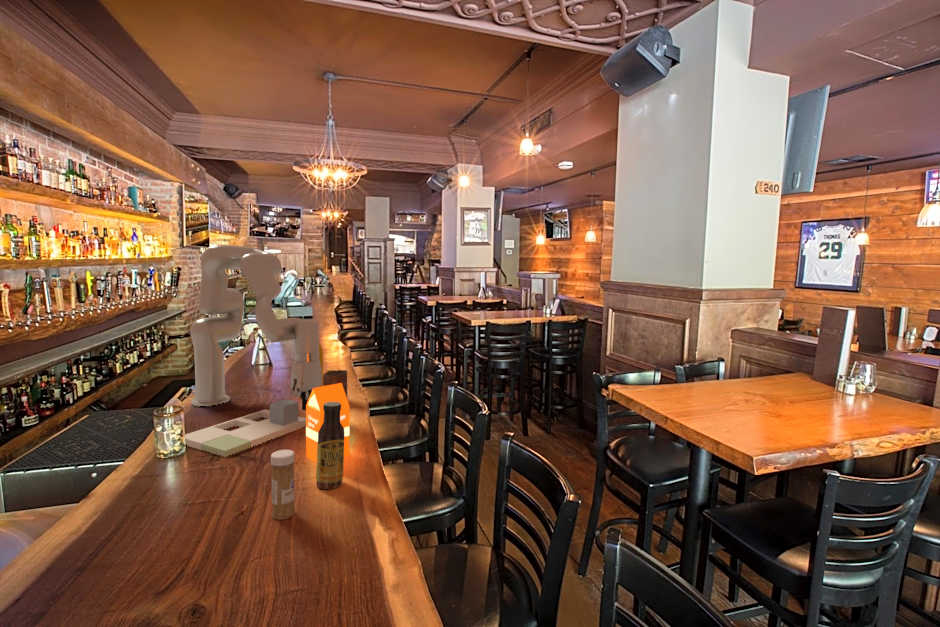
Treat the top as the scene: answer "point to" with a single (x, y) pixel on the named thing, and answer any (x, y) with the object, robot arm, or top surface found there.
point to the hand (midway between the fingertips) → (307, 409)
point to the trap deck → (239, 434)
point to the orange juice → (317, 416)
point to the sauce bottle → (330, 448)
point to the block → (284, 412)
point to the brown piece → (336, 378)
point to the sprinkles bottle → (283, 484)
